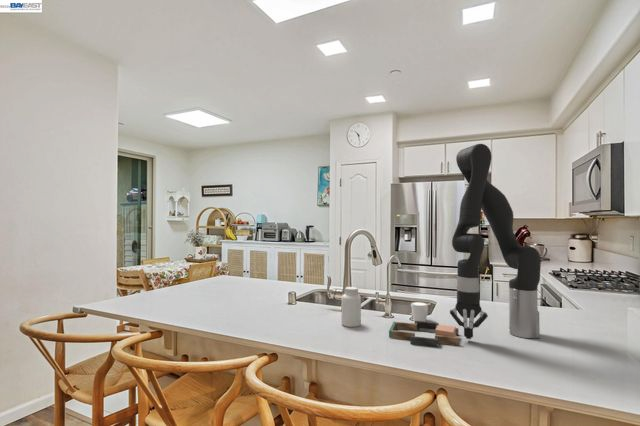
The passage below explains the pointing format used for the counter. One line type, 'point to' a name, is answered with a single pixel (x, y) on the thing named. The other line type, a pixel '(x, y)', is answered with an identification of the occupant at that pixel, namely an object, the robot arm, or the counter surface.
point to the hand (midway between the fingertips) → (468, 338)
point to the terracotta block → (445, 330)
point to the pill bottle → (351, 307)
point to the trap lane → (421, 327)
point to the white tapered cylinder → (419, 311)
